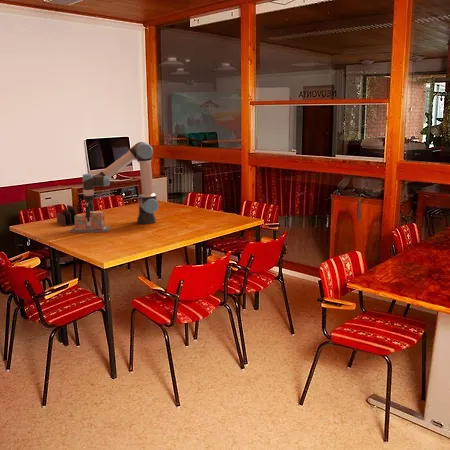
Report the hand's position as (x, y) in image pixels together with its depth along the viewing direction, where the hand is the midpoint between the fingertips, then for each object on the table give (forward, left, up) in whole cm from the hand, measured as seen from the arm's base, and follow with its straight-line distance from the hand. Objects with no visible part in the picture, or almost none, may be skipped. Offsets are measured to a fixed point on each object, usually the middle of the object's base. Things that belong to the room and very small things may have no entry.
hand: (90, 224), depth 371 cm
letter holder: (+24, -25, -5) cm, 35 cm away
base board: (0, 0, -5) cm, 5 cm away
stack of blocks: (+1, 0, -3) cm, 3 cm away
